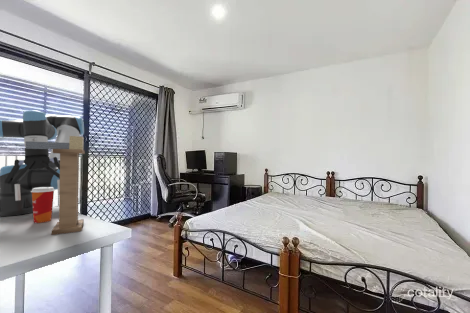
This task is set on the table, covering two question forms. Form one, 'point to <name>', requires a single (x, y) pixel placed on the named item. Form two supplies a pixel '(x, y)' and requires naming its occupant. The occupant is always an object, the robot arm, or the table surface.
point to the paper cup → (42, 204)
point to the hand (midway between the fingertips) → (39, 197)
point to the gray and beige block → (58, 144)
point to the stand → (68, 192)
